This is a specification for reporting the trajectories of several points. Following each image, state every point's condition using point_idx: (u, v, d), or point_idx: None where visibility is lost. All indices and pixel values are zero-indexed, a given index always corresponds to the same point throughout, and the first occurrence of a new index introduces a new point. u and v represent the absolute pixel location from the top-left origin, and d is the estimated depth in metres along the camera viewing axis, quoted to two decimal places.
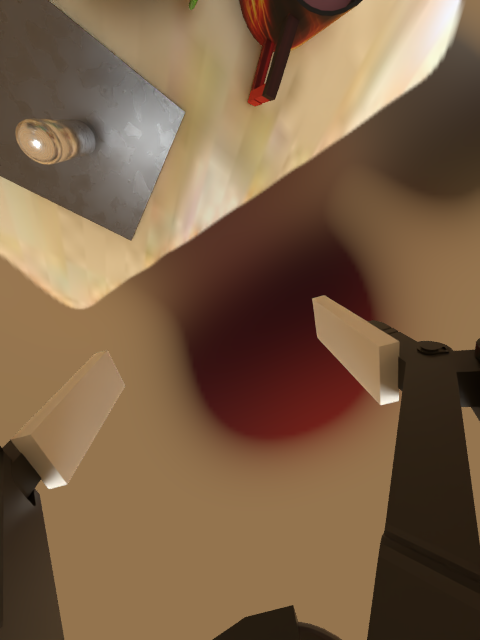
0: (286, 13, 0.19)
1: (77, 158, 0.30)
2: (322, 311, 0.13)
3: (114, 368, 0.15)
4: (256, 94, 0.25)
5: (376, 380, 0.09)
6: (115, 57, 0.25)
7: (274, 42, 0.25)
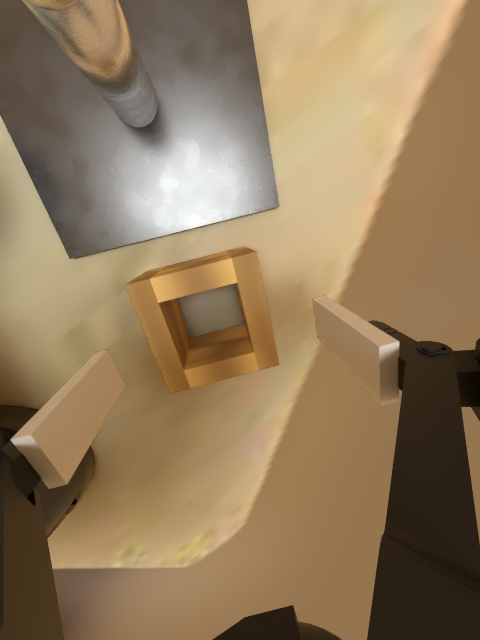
0: None
1: (165, 88, 0.17)
2: (323, 311, 0.13)
3: (114, 368, 0.15)
4: None
5: (376, 380, 0.09)
6: None
7: None
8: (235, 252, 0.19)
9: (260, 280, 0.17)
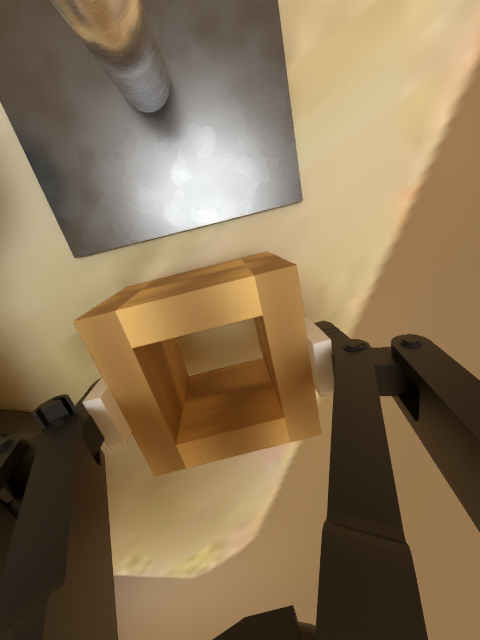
0: None
1: (178, 67, 0.15)
2: None
3: None
4: None
5: (315, 374, 0.11)
6: None
7: None
8: (256, 262, 0.12)
9: (300, 311, 0.10)
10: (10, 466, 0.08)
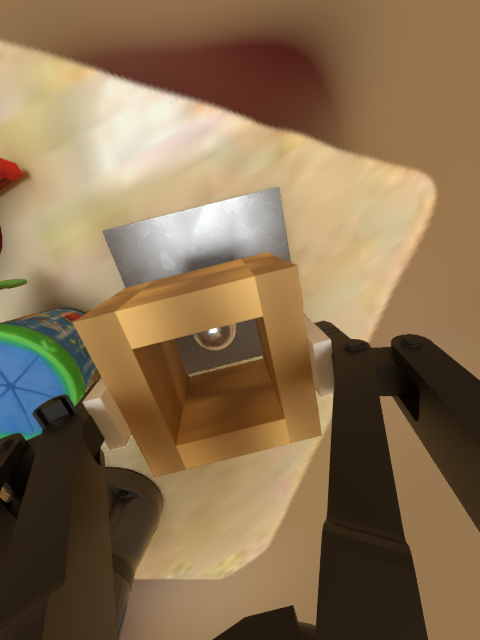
0: None
1: None
2: None
3: None
4: None
5: (315, 374, 0.11)
6: None
7: None
8: (256, 263, 0.12)
9: (301, 312, 0.10)
10: (10, 466, 0.08)
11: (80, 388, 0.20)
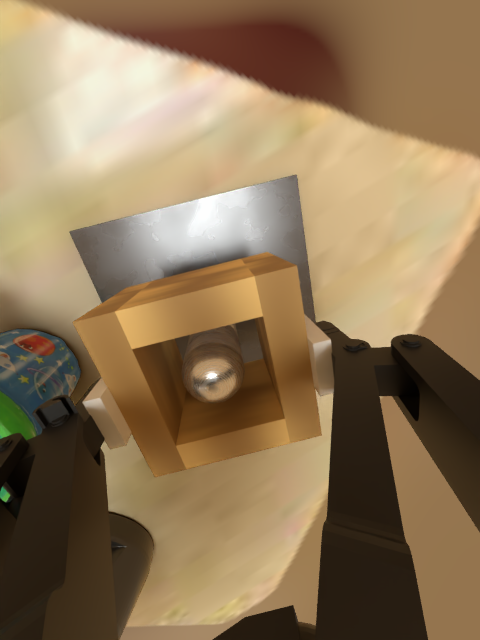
0: None
1: None
2: None
3: None
4: None
5: (315, 374, 0.11)
6: None
7: None
8: (256, 263, 0.12)
9: (301, 312, 0.10)
10: (10, 466, 0.08)
11: None
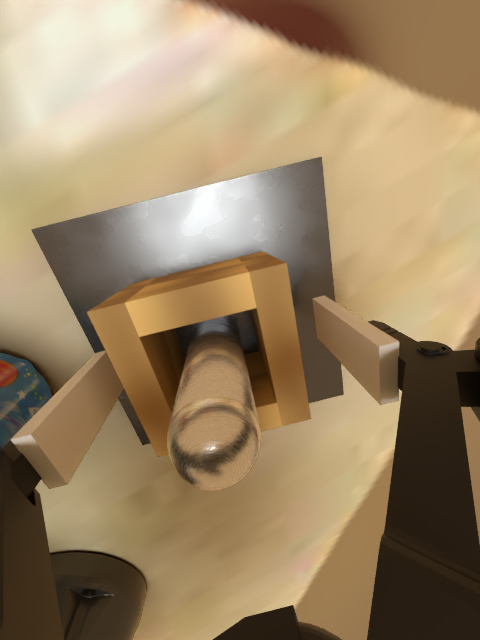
0: None
1: (245, 316, 0.18)
2: (322, 311, 0.13)
3: None
4: None
5: (376, 380, 0.09)
6: (91, 342, 0.17)
7: None
8: (252, 261, 0.13)
9: (290, 304, 0.11)
10: None
11: None
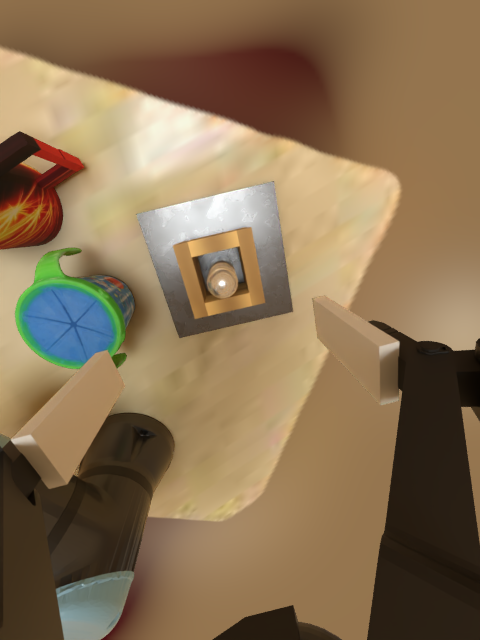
0: None
1: (237, 262, 0.34)
2: (323, 311, 0.13)
3: (114, 368, 0.15)
4: (58, 159, 0.24)
5: (376, 380, 0.09)
6: (158, 273, 0.34)
7: (34, 180, 0.27)
8: (239, 229, 0.29)
9: (253, 245, 0.28)
10: None
11: (123, 327, 0.27)
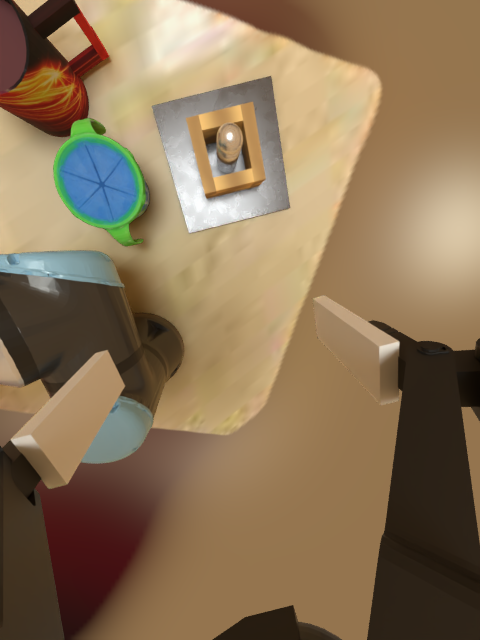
0: (37, 34, 0.26)
1: (240, 156, 0.39)
2: (322, 311, 0.13)
3: (114, 368, 0.15)
4: (91, 34, 0.29)
5: (376, 380, 0.09)
6: (170, 166, 0.38)
7: (67, 62, 0.31)
8: None
9: (255, 119, 0.32)
10: None
11: (144, 188, 0.31)
